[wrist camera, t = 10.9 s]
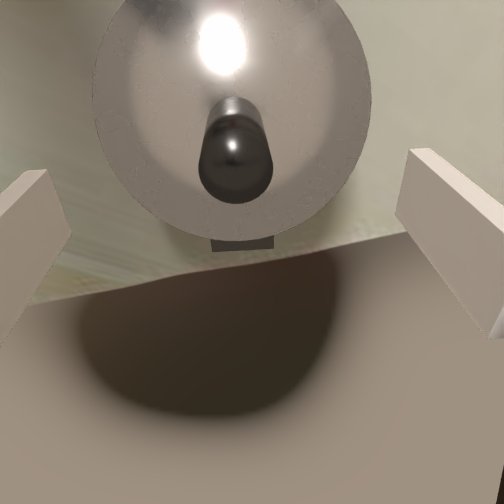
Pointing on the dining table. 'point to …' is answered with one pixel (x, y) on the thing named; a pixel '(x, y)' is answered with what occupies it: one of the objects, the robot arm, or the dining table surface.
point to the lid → (232, 110)
